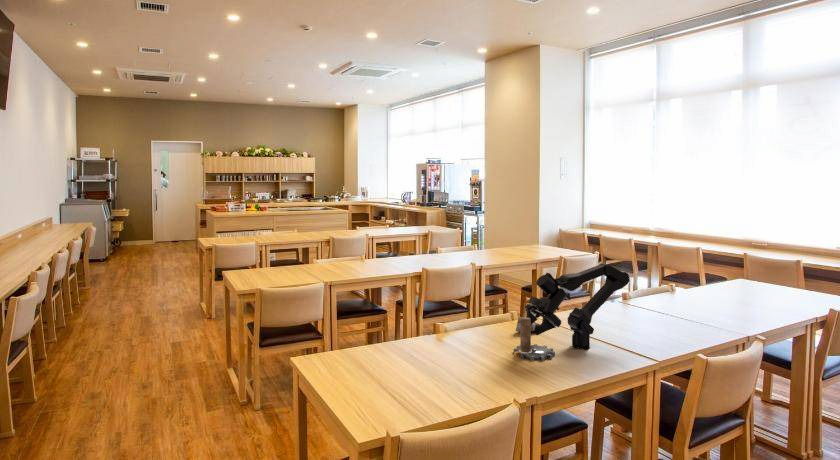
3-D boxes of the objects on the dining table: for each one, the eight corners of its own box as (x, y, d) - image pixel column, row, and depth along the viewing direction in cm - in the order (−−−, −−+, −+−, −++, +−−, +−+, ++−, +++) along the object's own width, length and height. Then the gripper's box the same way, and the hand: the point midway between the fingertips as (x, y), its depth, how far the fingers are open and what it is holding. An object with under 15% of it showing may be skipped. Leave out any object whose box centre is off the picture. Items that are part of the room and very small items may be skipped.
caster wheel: (540, 334, 246) (540, 337, 236) (516, 328, 248) (515, 331, 238) (543, 320, 246) (543, 322, 236) (519, 314, 248) (518, 316, 238)
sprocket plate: (555, 349, 217) (556, 344, 216) (553, 362, 201) (553, 357, 201) (516, 346, 221) (516, 341, 221) (511, 359, 206) (511, 354, 206)
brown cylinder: (529, 348, 212) (529, 317, 211) (531, 352, 209) (531, 319, 207) (519, 349, 212) (519, 317, 211) (521, 352, 208) (521, 320, 207)
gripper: (528, 284, 219) (505, 313, 216) (554, 293, 201) (529, 325, 199) (545, 300, 222) (522, 329, 220) (572, 311, 205) (547, 342, 202)
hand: (529, 331), depth 210 cm, fingers open, 9 cm apart
